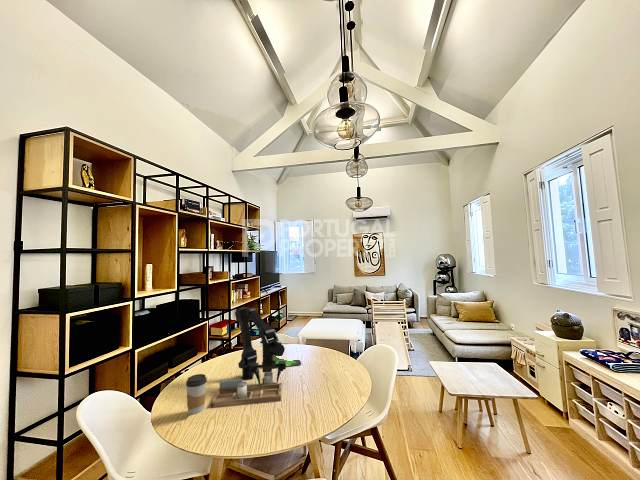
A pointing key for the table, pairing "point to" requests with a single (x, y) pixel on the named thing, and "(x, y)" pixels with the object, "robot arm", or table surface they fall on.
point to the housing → (253, 395)
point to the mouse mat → (287, 362)
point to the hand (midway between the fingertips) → (268, 383)
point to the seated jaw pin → (242, 390)
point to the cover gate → (229, 383)
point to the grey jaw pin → (268, 378)
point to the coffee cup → (196, 393)
